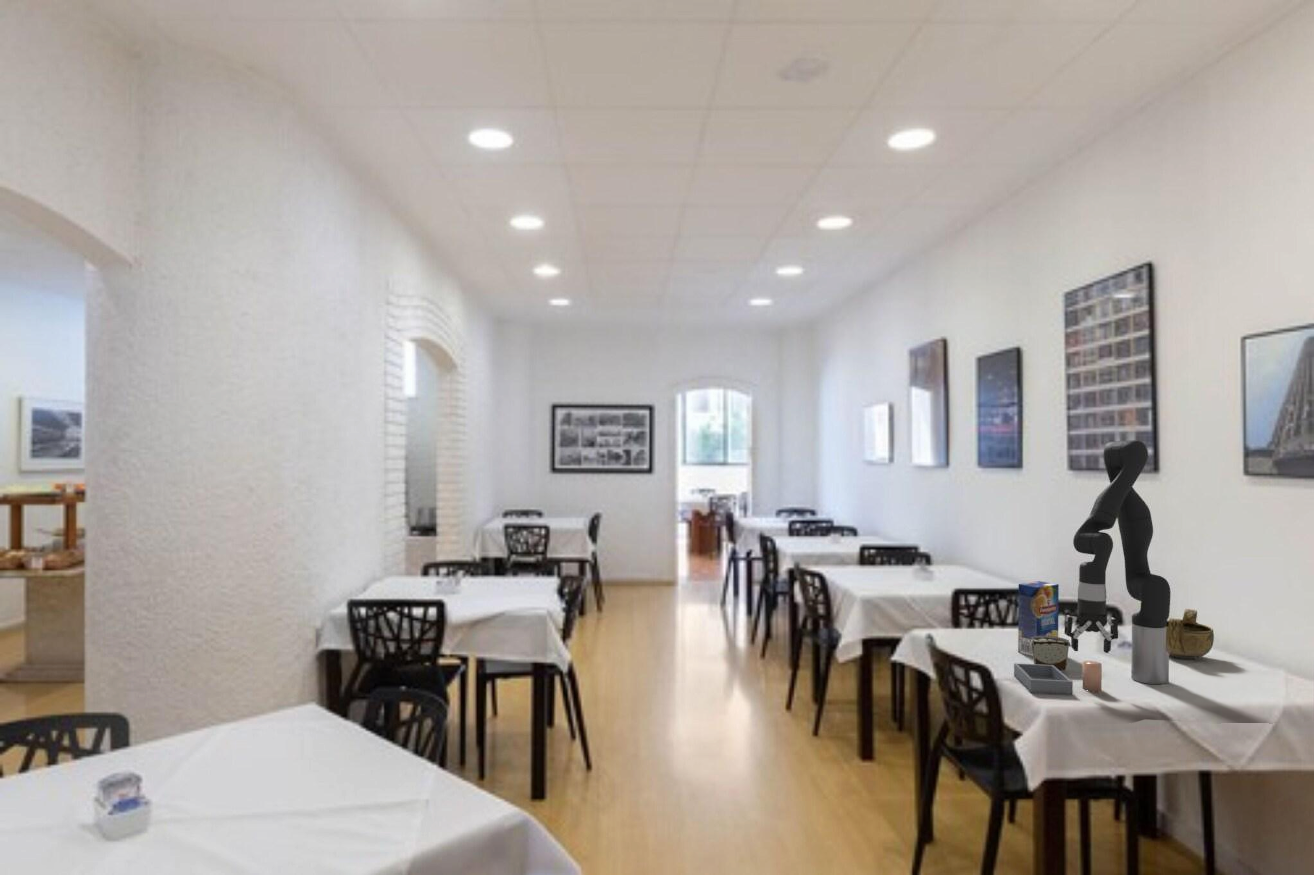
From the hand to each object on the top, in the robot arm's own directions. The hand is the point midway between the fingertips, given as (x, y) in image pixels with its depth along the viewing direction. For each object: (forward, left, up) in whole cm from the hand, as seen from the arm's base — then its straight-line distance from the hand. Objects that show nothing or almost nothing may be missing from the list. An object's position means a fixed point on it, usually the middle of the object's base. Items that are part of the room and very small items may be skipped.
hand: (1090, 651), depth 245 cm
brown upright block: (0, 0, -11) cm, 11 cm away
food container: (+6, -22, -12) cm, 25 cm away
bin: (+13, -2, -11) cm, 18 cm away
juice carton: (+3, -42, -12) cm, 44 cm away
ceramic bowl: (-45, -44, -12) cm, 64 cm away
